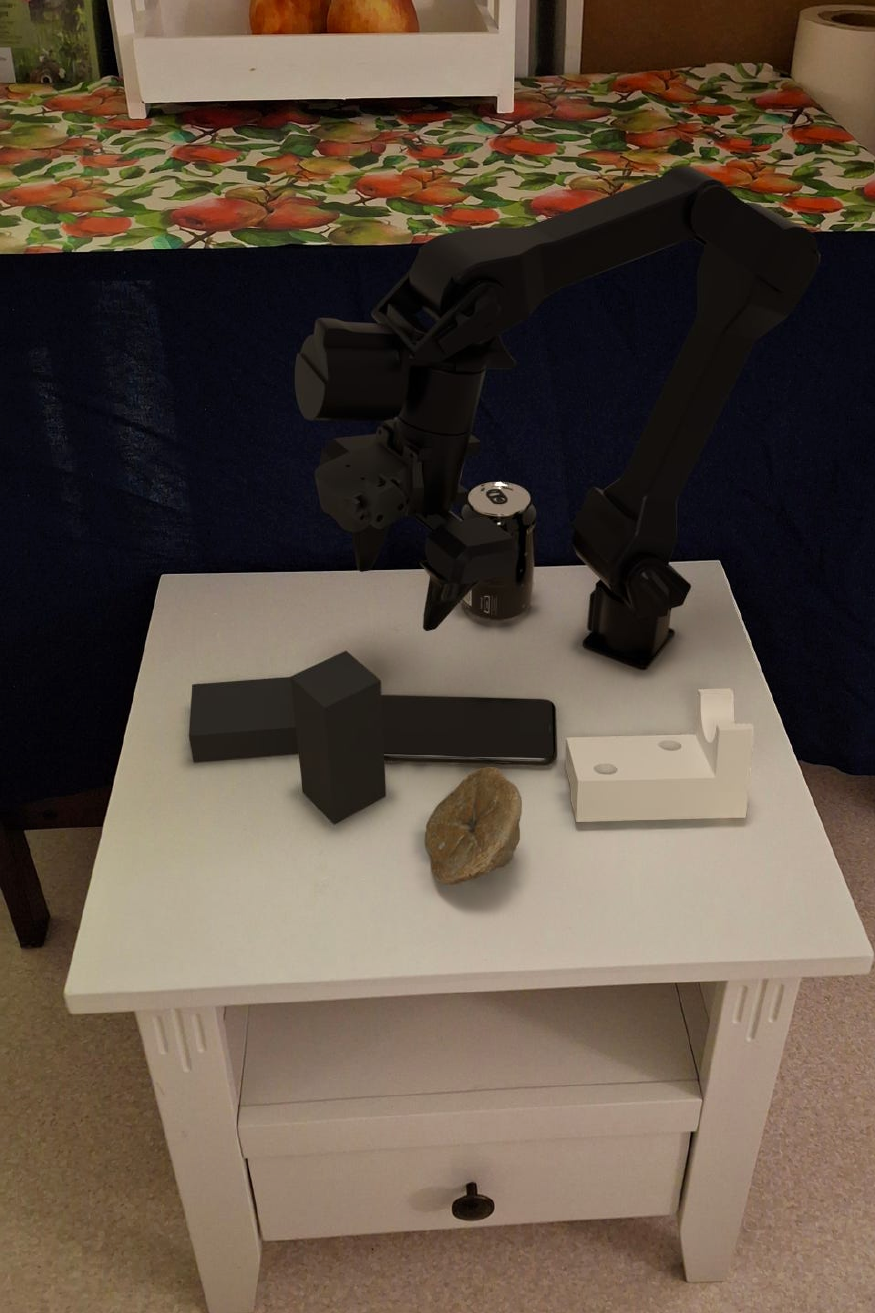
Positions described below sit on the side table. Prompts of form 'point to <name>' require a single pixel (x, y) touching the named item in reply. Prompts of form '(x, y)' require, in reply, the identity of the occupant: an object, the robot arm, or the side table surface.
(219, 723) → the base pad
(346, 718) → the black pad block
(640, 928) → the side table surface
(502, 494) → the beverage can
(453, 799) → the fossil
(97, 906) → the side table surface
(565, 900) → the side table surface
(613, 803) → the bracket
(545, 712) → the smartphone
